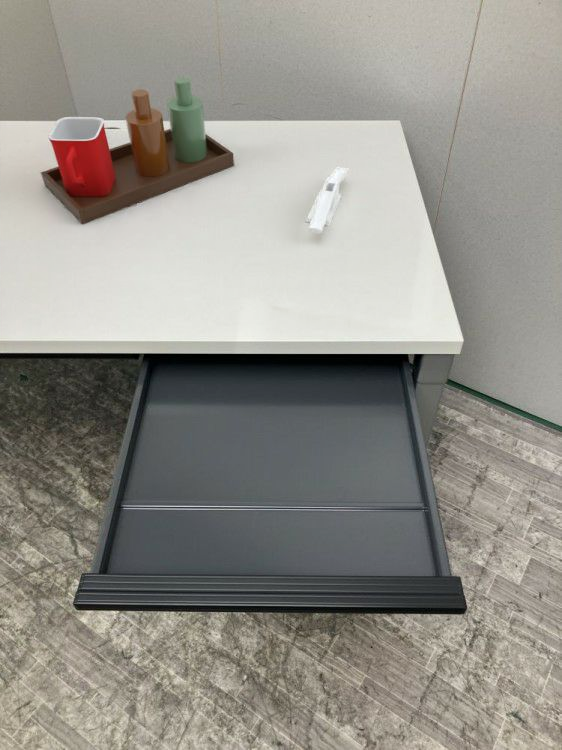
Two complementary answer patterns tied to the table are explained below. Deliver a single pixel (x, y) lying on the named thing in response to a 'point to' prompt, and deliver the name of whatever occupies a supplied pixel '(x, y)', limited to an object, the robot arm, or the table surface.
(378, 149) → the table surface
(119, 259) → the table surface
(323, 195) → the white long narrow piece
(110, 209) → the tray
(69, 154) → the mug
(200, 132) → the sage bottle
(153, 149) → the amber bottle
